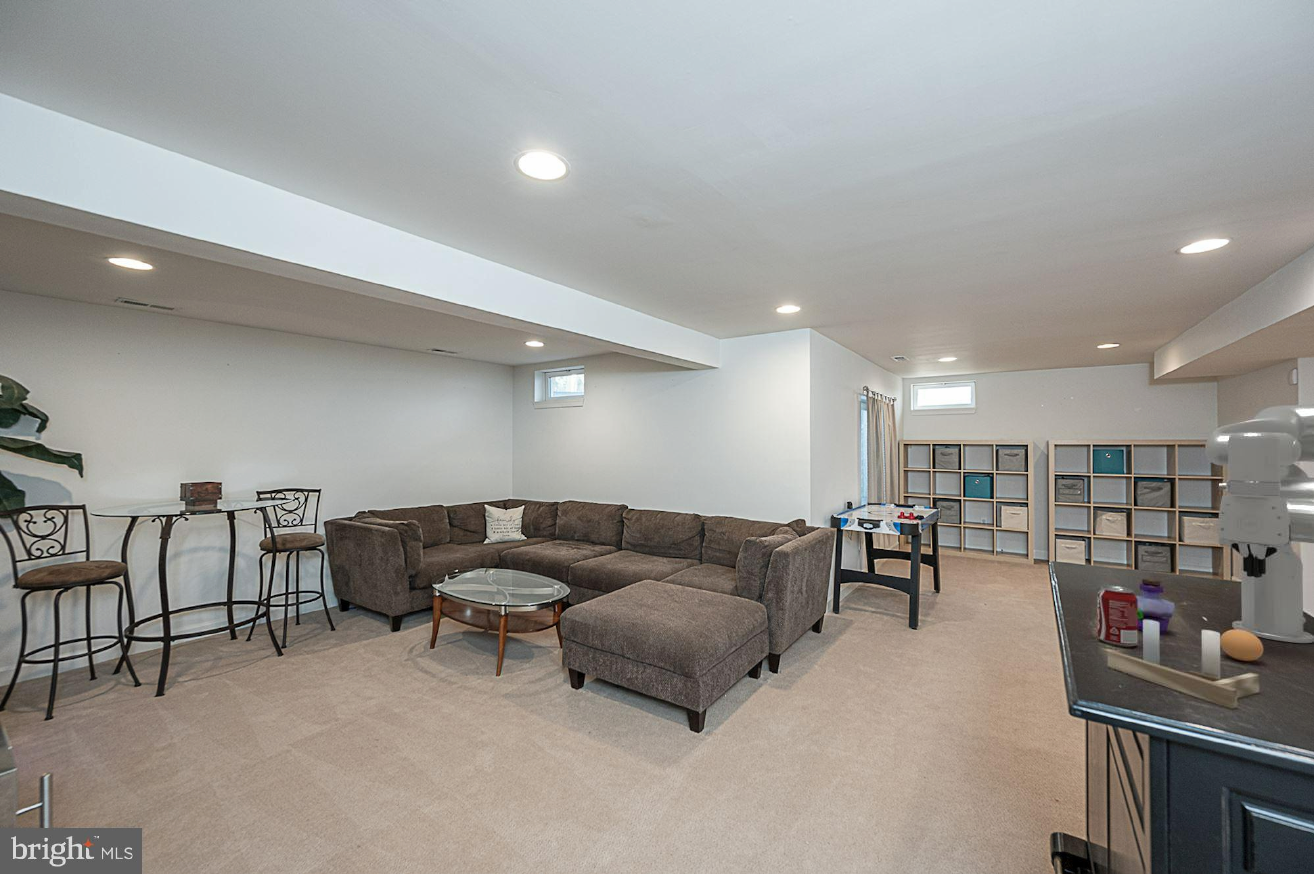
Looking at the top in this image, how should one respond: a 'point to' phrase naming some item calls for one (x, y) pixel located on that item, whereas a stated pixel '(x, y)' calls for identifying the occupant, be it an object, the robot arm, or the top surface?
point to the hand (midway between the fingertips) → (1254, 576)
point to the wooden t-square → (1188, 680)
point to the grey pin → (1151, 641)
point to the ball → (1241, 645)
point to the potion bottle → (1153, 605)
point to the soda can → (1117, 616)
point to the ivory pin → (1211, 653)
